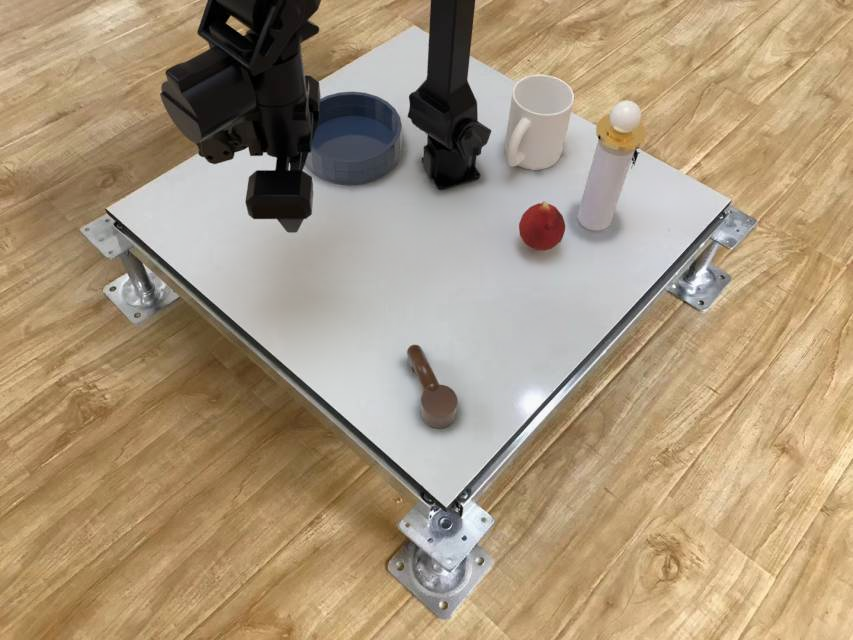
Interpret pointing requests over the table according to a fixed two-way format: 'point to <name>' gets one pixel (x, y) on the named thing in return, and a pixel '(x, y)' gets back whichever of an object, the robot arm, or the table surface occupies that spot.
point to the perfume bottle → (611, 163)
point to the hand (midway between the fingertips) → (295, 200)
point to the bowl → (355, 139)
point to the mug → (538, 121)
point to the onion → (542, 226)
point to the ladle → (432, 392)
